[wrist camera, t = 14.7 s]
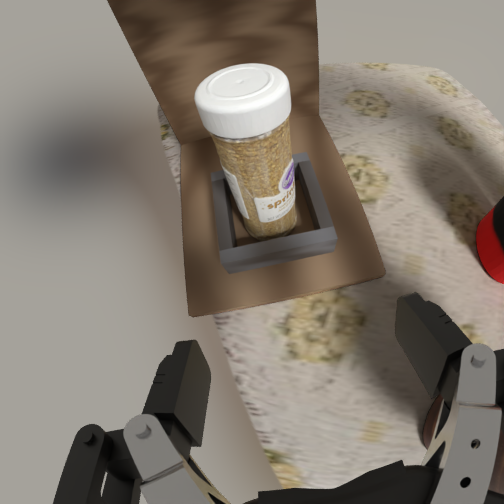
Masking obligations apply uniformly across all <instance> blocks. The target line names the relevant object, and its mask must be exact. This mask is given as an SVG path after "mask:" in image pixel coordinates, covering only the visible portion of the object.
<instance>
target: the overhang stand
mask: <svg viewBox="0 0 504 504" xmlns="http://www.w3.org/2000/svg"><path fill="white" fill-rule="evenodd" d="M107 1H108V3H109V5H110V7H111V9H112V11H113V13H114V15H115V17H116V19H117V21H118V23H119V25H120V27H121V29H122V31H123V33H124V35H125V37H126V39H127V41H128V43H129V45H130V47H131V49H132V51H133V53H134V55H135V57H136V59H137V61H138V63H139V65H140V67H141V69H142V71H143V73H144V75H145V77H146V79H147V81H148V82H149V85H150V86H151V89H152V91H153V92H154V94H155V96H156V98H157V100H158V102H159V104H160V106H161V108H162V110H163V112H164V114H165V116H166V118H167V119H168V121H169V123H170V125H171V127H172V129H173V131H174V133H175V135H176V137H177V139H178V140H179V142H180V144H181V207H182V231H183V251H184V266H185V279H186V292H187V303H188V313H189V316H192V317H197V316H204V315H210V314H216V313H222V312H228V311H233V310H239V309H244V308H250V307H255V306H260V305H265V304H270V303H275V302H280V301H285V300H289V299H294V298H299V297H303V296H308V295H312V294H316V293H321V292H325V291H329V290H334V289H338V288H342V287H346V286H350V285H354V284H358V283H362V282H366V281H370V280H373V279H377V278H381V277H383V276H384V275H385V274H386V272H385V268H384V265H383V262H382V259H381V256H380V253H379V250H378V247H377V244H376V241H375V239H374V236H373V233H372V230H371V228H370V225H369V222H368V220H367V217H366V215H365V212H364V210H363V207H362V205H361V202H360V200H359V197H358V195H357V192H356V190H355V188H354V185H353V183H352V181H351V179H350V176H349V174H348V172H347V170H346V168H345V165H344V163H343V161H342V159H341V157H340V155H339V153H338V151H337V149H336V147H335V145H334V143H333V141H332V139H331V137H330V135H329V133H328V131H327V129H326V127H325V125H324V123H323V122H322V120H321V118H320V116H319V61H318V60H319V58H318V57H319V56H318V31H317V14H316V0H107ZM248 63H258V64H265V65H270V66H273V67H275V68H277V69H279V70H281V71H282V72H283V73H284V74H285V75H286V77H287V79H288V81H289V87H290V96H291V111H290V116H289V127H290V138H291V151H292V158H293V163H294V180H295V210H296V214H297V221H296V225H295V227H294V229H293V230H292V231H291V232H290V233H289V234H288V235H287V236H286V237H281V238H277V239H272V240H267V241H259V240H258V239H256V238H254V237H252V236H251V235H250V234H249V232H248V231H247V230H246V228H245V225H244V221H243V216H242V214H241V212H240V211H239V209H238V206H237V204H236V201H235V199H234V196H233V194H232V191H231V189H230V186H229V184H228V181H227V178H226V176H225V173H224V170H223V168H222V165H221V162H220V157H219V155H218V153H217V149H216V146H215V143H214V141H213V138H212V136H211V135H210V133H209V132H208V131H207V129H206V128H205V127H204V125H203V122H202V120H201V117H200V115H199V112H198V109H197V106H196V103H195V99H194V96H195V91H196V89H197V87H198V86H199V84H200V83H201V82H202V81H203V80H204V79H206V78H207V77H208V76H210V75H211V74H213V73H215V72H217V71H219V70H221V69H224V68H227V67H230V66H234V65H239V64H248Z"/></svg>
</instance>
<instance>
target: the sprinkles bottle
mask: <svg viewBox="0 0 504 504" xmlns="http://www.w3.org/2000/svg"><path fill="white" fill-rule="evenodd" d="M194 99H195V103H196V106H197V109H198V112H199V115H200V117H201V120H202V122H203V125H204V127H205V128H206V129H207V131H208V132H209V133H210V135H211V136H212V138H213V141H214V143H215V146H216V149H217V153H218V155H219V157H220V162H221V165H222V168H223V170H224V173H225V176H226V178H227V181H228V184H229V186H230V189H231V191H232V194H233V196H234V199H235V201H236V204H237V206H238V209H239V211H240V212H241V214H242V216H243V221H244V225H245V228H246V230H247V231H248V232H249V234H250V235H251V236H252V237H254V238H256V239H258V240H259V241H267V240H272V239H277V238H281V237H286V236H287V235H288V234H289V233H290V232H291V231H292V230H293V229H294V227H295V225H296V221H297V214H296V210H295V180H294V163H293V158H292V151H291V138H290V127H289V116H290V111H291V96H290V87H289V81H288V79H287V77H286V75H285V74H284V73H283V72H282V71H281V70H279V69H277V68H275V67H273V66H270V65H265V64H258V63H248V64H239V65H234V66H230V67H227V68H224V69H221V70H219V71H217V72H215V73H213V74H211V75H210V76H208V77H207V78H206V79H204V80H203V81H202V82H201V83H200V84H199V86H198V87H197V89H196V91H195V96H194Z"/></svg>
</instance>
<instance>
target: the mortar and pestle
mask: <svg viewBox="0 0 504 504" xmlns="http://www.w3.org/2000/svg"><path fill="white" fill-rule="evenodd" d="M442 401H443V397H442V395H441V394H440V395H439V396H438V397H437V399H436V400H435V402H434V403H433V405H432V407H431V409H430V411H429V413H428V416H427V419H426V422H425V425H424V431H423V440H424V444H425V446H426V448H427V449H428V448H429V446H430V444H431V441H432V438H433V434H434V431H435V427H436V424H437V420H438V416H439V412H440V408H441V403H442ZM488 490H491V491H494V492H497V493H500V494H504V434H503V432H502V430H501V428H500V434H499V441H498V447H497V453H496V458H495V463H494V468H493V472H492V476H491V480H490V484H489V487H488Z"/></svg>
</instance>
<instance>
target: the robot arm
mask: <svg viewBox="0 0 504 504" xmlns="http://www.w3.org/2000/svg"><path fill="white" fill-rule="evenodd" d="M395 334H396V338H397V340H398V342H399V344H400V345H401V347H402V349H403V350H404V352H405V354H406V355H407V357H408V359H409V360H410V362H411V364H412V365H413V367H414V369H415V370H416V372H417V374H418V376H419V377H420V379H421V381H422V383H423V384H424V386H425V388H426V390H427V392H428V393H429V395H430V397H431V399H432V398H434V397H436V396H438V395H440V394H441V395H442V397H443V401H442V403H441V408H440V412H439V416H438V420H437V424H436V427H435V431H434V434H433V438H432V441H431V444H430V446H429V448H428V450H427V452H426V454H425V457H424V459H423V461H422V463H421V465H410V466H404V464H403V461H402V460H400V461H397V462H395V463H392V464H389V465H386V466H384V467H381V468H378V469H375V470H372V471H369V472H367V473H365V474H363V475H361V476H359V477H357V478H355V479H354V480H352V481H350V482H348V483H345V484H343V485H341V486H339V487H337V488H334V489H305V488H290V489H282V490H272V491H260V492H258V498H257V499H254V500H251V501H248V502H245V503H244V504H504V494H500V493H497V492H494V491H491V490H488V487H489V484H490V480H491V476H492V472H493V468H494V463H495V458H496V453H497V447H498V441H499V434H500V428H501V430H502V432H503V434H504V349H501V350H496V351H493V350H492V349H491V348H489V347H488V346H486V345H484V344H472V342H471V341H470V340H469V339H468V338H467V337H466V335H465V334H464V333H463V332H462V331H461V330H460V328H459V327H458V326H457V325H456V324H455V323H454V322H452V319H451V318H450V317H449V316H448V315H446V313H445V312H444V311H443V310H442V309H441V307H440V306H438V305H436V304H434V303H432V302H430V301H426V302H425V301H424V300H423V298H422V297H421V296H420V295H419V294H418V293H416V292H414V293H411V294H408V295H404V296H401V297H399V298H398V300H397V311H396V322H395ZM210 383H211V372H210V368H209V365H208V363H207V361H206V359H205V357H204V355H203V352H202V351H201V348H200V346H199V344H198V342H197V341H196V340H188V341H179V342H177V343H176V344H175V347H174V351H173V353H172V355H167V356H166V357H165V358H164V360H163V361H162V362H161V363H160V364H159V367H158V369H157V372H156V376H155V378H154V380H153V384H152V386H151V389H150V392H149V395H148V397H147V400H146V403H145V406H144V409H143V412H142V414H141V415H138V416H135V417H134V418H132V419H131V420H130V421H129V422H128V423H127V424H126V426H125V428H124V429H121V430H115V431H110V432H105V431H104V430H103V429H102V428H101V427H100V426H98V425H95V424H89V425H86V426H84V427H82V428H81V429H80V430H79V431H78V432H77V434H76V436H75V439H74V441H73V444H72V447H71V449H70V453H69V455H68V458H67V461H66V463H65V466H64V469H63V472H62V475H61V478H60V481H59V485H58V488H57V491H56V495H55V498H54V502H53V504H139V500H140V494H141V491H142V493H143V495H144V497H145V499H146V501H147V503H148V504H231V503H230V502H229V501H228V500H227V499H226V498H225V497H224V496H223V495H222V494H221V493H220V492H219V491H218V490H217V489H216V488H215V487H214V486H213V484H212V483H211V482H210V480H209V479H208V478H207V477H206V475H205V474H204V473H203V471H202V470H201V469H200V468H199V466H198V465H197V463H196V462H195V461H194V459H193V458H192V457H191V455H190V449H191V447H195V446H197V447H201V444H202V437H203V430H204V423H205V416H206V410H207V403H208V396H209V390H210ZM105 472H107V473H108V474H107V477H106V481H105V485H104V489H103V494H102V497H101V487H102V483H103V479H104V475H105ZM142 482H143V483H142Z"/></svg>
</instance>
